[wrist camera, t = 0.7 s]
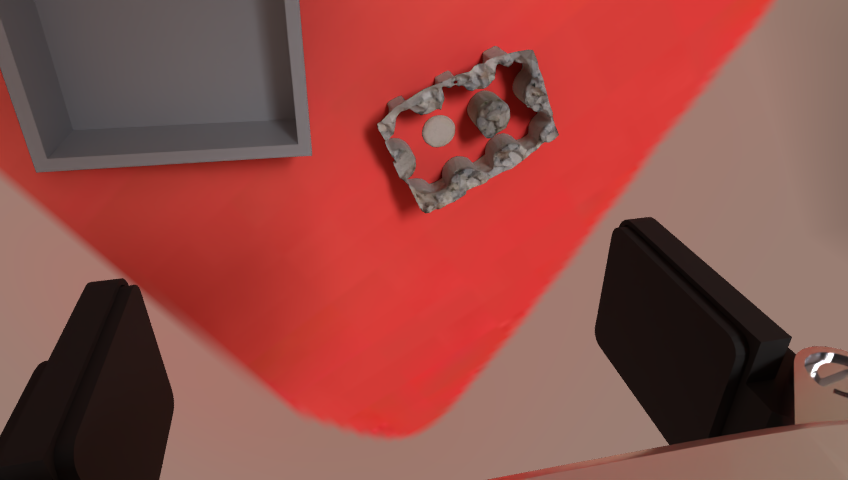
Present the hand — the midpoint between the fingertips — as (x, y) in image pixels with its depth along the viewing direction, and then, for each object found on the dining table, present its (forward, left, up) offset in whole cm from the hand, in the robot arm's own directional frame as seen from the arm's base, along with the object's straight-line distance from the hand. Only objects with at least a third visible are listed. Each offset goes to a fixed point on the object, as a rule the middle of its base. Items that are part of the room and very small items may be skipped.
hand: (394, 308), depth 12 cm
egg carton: (+5, +9, -27) cm, 29 cm away
